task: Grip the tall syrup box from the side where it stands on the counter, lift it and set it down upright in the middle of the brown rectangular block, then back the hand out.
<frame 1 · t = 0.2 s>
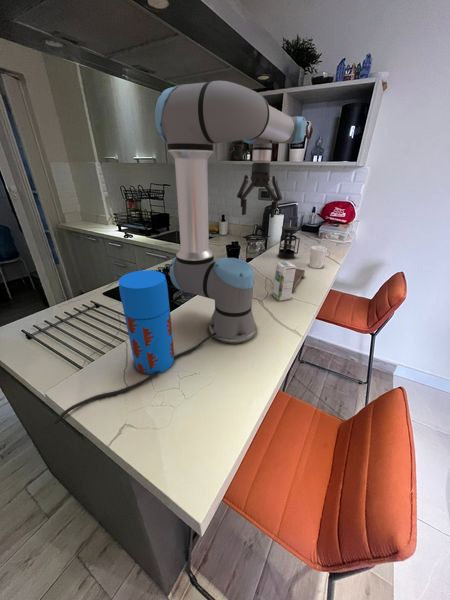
hand: (257, 216, 115), 28 cm above the table, tool pointing down, fingers open, 13 cm apart
french press: (286, 257, 151), on the table
white cup: (315, 266, 138), on the table
brown rectangular block: (290, 282, 119), on the table
thermos: (155, 361, 72), on the table
syrup box: (281, 297, 106), on the table
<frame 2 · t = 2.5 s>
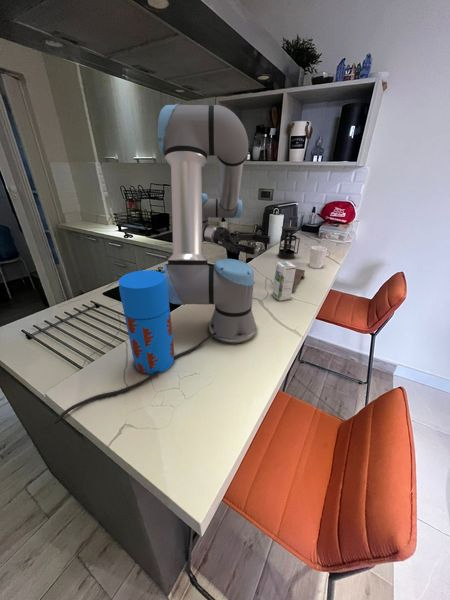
hand: (262, 245, 100), 20 cm above the table, tool horizontal, fingers open, 13 cm apart
nothing on the table moved.
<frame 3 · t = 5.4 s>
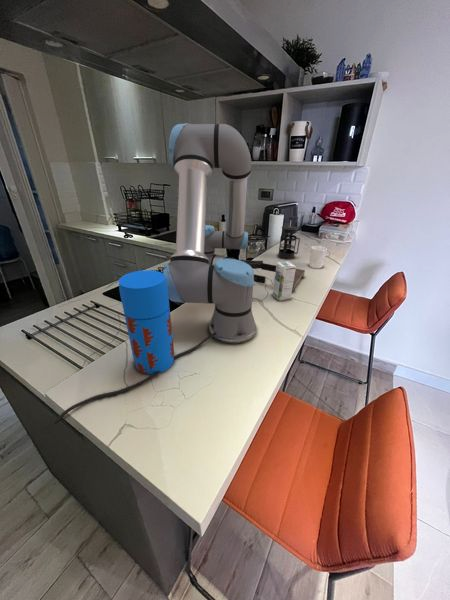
hand: (270, 274, 104), 9 cm above the table, tool horizontal, fingers open, 13 cm apart
nothing on the table moved.
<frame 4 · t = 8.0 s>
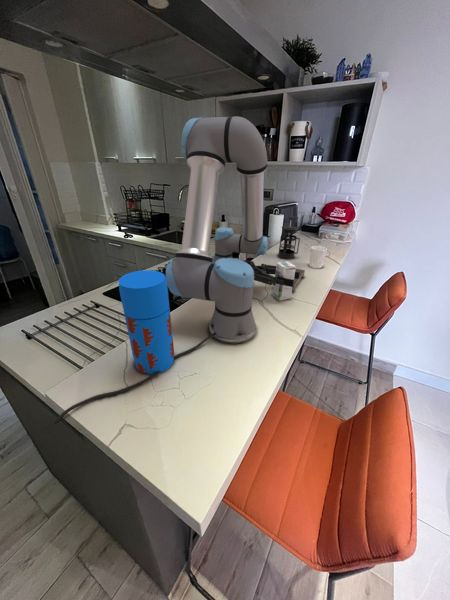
hand: (296, 279, 100), 9 cm above the table, tool horizontal, fingers closed on syrup box, 8 cm apart
syrup box: (281, 297, 106), on the table, touching gripper
everything else where it was.
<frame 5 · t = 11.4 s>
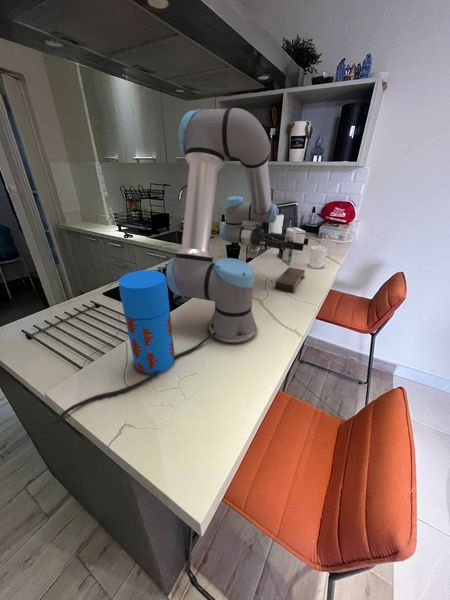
hand: (305, 244, 103), 20 cm above the table, tool horizontal, fingers closed on syrup box, 8 cm apart
syrup box: (290, 263, 109), point 11 cm above the table, touching gripper
everything else where it was.
when the fingers open (12 cm above the table, at t = 14.8 s): syrup box stays where it is, resting on brown rectangular block.
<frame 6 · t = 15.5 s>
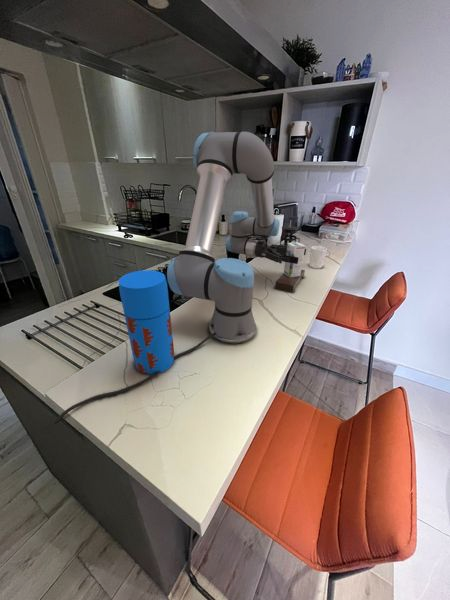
hand: (302, 256, 112), 13 cm above the table, tool horizontal, fingers open, 13 cm apart
syrup box: (291, 275, 118), point 3 cm above the table, touching brown rectangular block
everything else where it was.
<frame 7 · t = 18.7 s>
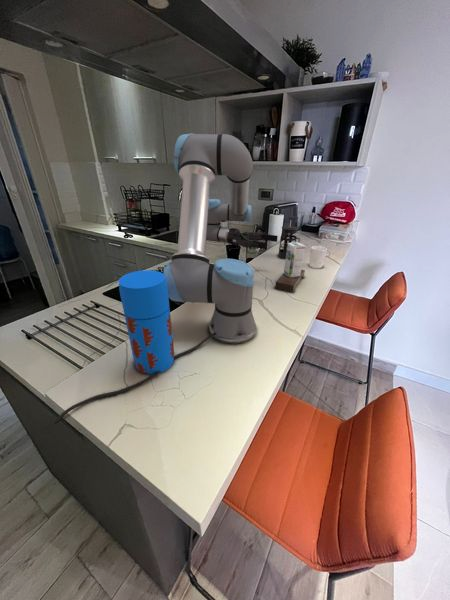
hand: (272, 242, 114), 18 cm above the table, tool horizontal, fingers open, 13 cm apart
nothing on the table moved.
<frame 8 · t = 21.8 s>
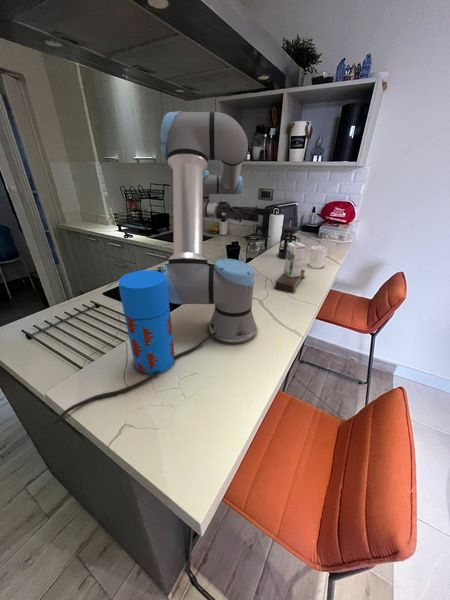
hand: (264, 215, 105), 30 cm above the table, tool horizontal, fingers open, 13 cm apart
nothing on the table moved.
at the end: syrup box inside the target area (0.0 cm from its centre), point 3.3 cm above the table; syrup box tilted 0°; the gripper is holding nothing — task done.
